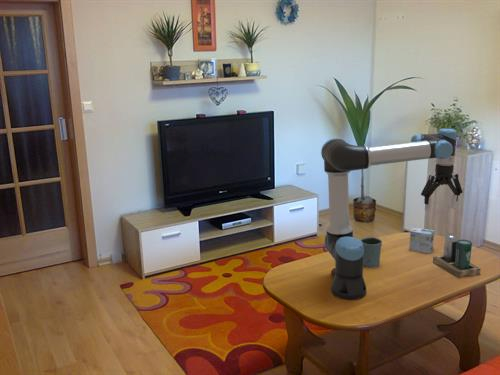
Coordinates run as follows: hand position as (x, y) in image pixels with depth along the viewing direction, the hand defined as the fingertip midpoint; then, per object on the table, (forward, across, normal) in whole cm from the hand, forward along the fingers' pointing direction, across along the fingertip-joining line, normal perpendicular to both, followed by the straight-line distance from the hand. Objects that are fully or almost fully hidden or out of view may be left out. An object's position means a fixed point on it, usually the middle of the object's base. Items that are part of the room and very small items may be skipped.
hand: (440, 209), depth 232 cm
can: (+30, +11, -5) cm, 33 cm away
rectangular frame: (+30, +12, -1) cm, 32 cm away
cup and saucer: (+32, -41, +10) cm, 53 cm away
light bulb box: (+30, +10, +24) cm, 40 cm away
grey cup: (+31, -23, +18) cm, 43 cm away
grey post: (+30, +11, +4) cm, 32 cm away
